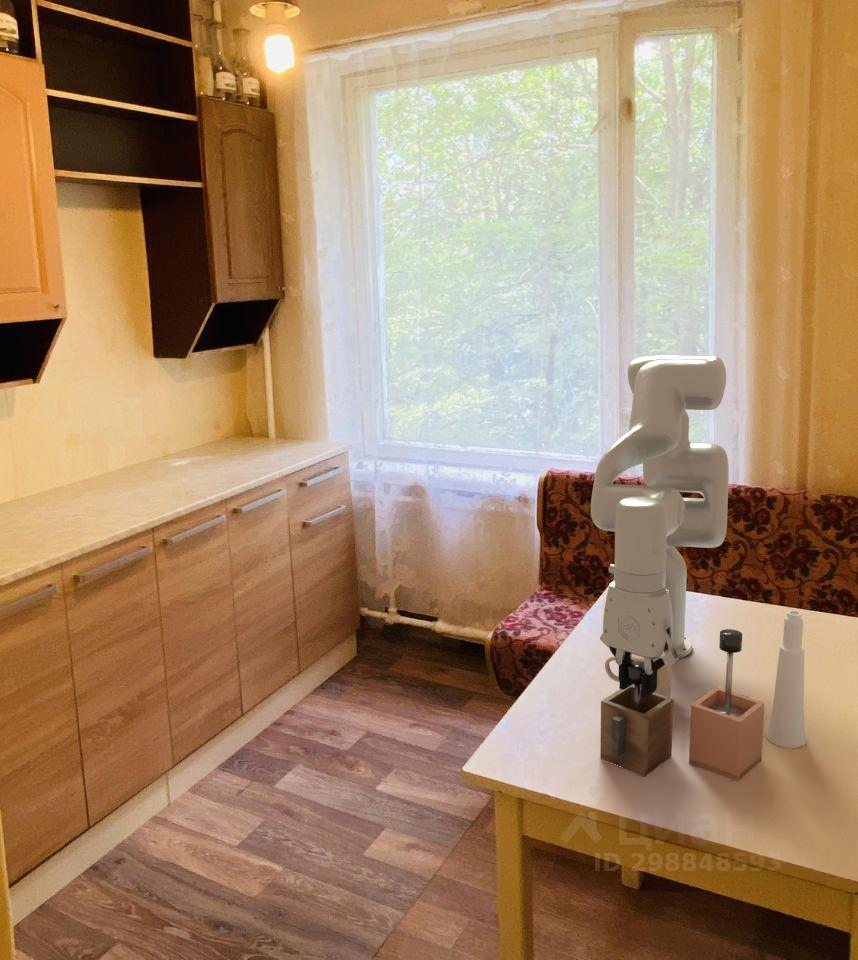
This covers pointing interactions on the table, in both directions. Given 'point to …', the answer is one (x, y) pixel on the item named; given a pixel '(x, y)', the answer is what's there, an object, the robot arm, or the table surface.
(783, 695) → the cosmetic bottle
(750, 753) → the square planter pot
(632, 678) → the dark metallic plunger
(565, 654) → the table surface
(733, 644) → the black knobbed plunger
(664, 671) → the teacup with lid
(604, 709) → the wooden handled box
